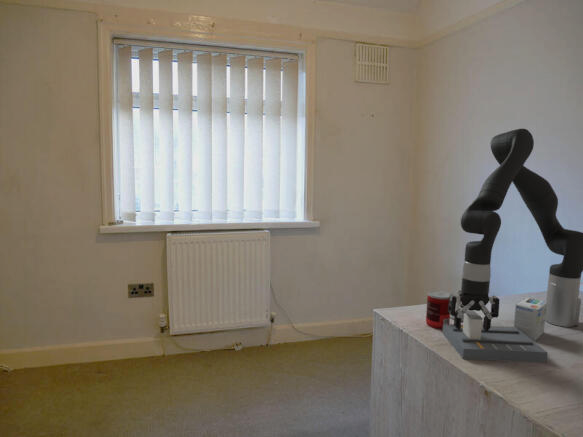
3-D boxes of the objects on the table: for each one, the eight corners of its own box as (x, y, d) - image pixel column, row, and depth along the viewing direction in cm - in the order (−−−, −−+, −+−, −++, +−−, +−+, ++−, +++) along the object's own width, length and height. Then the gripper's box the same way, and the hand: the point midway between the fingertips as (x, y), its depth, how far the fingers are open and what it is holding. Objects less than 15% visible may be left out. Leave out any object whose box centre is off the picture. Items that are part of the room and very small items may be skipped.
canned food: (448, 322, 141) (451, 291, 139) (449, 330, 133) (452, 298, 132) (425, 319, 143) (427, 289, 142) (425, 327, 136) (427, 295, 134)
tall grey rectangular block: (472, 331, 125) (474, 311, 124) (480, 340, 119) (482, 318, 118) (462, 331, 125) (463, 310, 124) (469, 339, 119) (471, 318, 118)
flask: (466, 315, 148) (468, 289, 147) (473, 322, 141) (475, 295, 140) (446, 314, 149) (448, 288, 147) (452, 321, 141) (454, 294, 140)
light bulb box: (522, 326, 138) (525, 296, 137) (544, 333, 133) (548, 301, 132) (511, 335, 131) (515, 303, 129) (535, 342, 126) (538, 309, 125)
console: (514, 335, 130) (515, 325, 130) (546, 362, 112) (547, 350, 112) (442, 332, 131) (443, 322, 131) (462, 358, 114) (463, 346, 113)
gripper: (494, 274, 123) (490, 325, 125) (447, 272, 123) (443, 323, 126) (506, 281, 115) (501, 335, 117) (456, 279, 116) (451, 333, 118)
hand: (471, 329), depth 122 cm, fingers open, 8 cm apart
